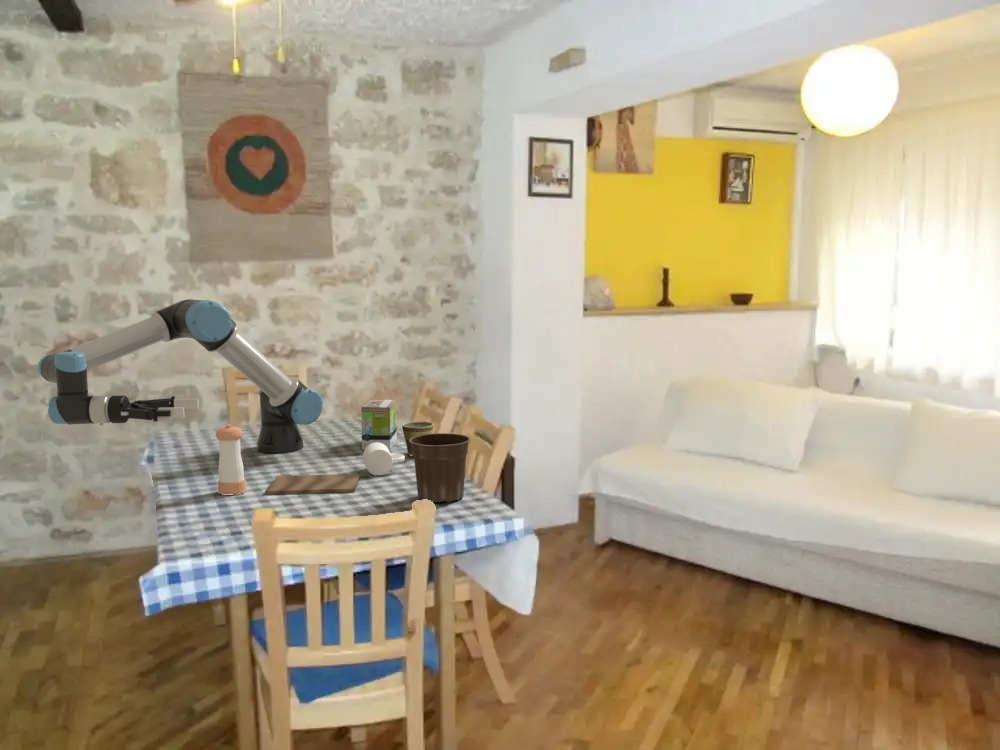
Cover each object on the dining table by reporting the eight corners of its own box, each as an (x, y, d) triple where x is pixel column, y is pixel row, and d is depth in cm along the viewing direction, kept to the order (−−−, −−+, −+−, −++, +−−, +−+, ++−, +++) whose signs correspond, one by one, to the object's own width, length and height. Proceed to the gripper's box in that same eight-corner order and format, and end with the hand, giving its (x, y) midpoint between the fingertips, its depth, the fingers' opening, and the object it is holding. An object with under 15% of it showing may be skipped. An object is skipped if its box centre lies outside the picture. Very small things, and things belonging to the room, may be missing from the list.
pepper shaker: (250, 489, 247) (246, 421, 244) (239, 496, 240) (236, 427, 237) (224, 488, 248) (221, 421, 245) (214, 495, 241) (210, 426, 238)
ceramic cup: (433, 458, 281) (433, 427, 280) (402, 458, 281) (401, 428, 279) (434, 448, 294) (433, 419, 293) (403, 449, 293) (403, 420, 292)
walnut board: (266, 494, 242) (265, 490, 241) (277, 479, 257) (276, 475, 257) (354, 492, 243) (354, 488, 243) (360, 477, 259) (359, 473, 259)
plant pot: (428, 486, 248) (426, 430, 245) (480, 492, 242) (480, 434, 239) (399, 502, 233) (398, 442, 231) (455, 509, 227) (454, 447, 224)
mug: (366, 476, 260) (365, 450, 258) (363, 468, 269) (362, 443, 268) (406, 474, 262) (406, 447, 261) (403, 466, 272) (402, 440, 271)
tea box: (391, 450, 293) (390, 406, 290) (361, 450, 293) (359, 406, 291) (397, 440, 307) (396, 398, 305) (368, 440, 308) (367, 398, 306)
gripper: (128, 414, 252) (204, 412, 253) (94, 432, 227) (178, 430, 228) (126, 388, 250) (202, 387, 252) (91, 403, 226) (176, 402, 227)
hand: (191, 407), depth 240 cm, fingers open, 13 cm apart
